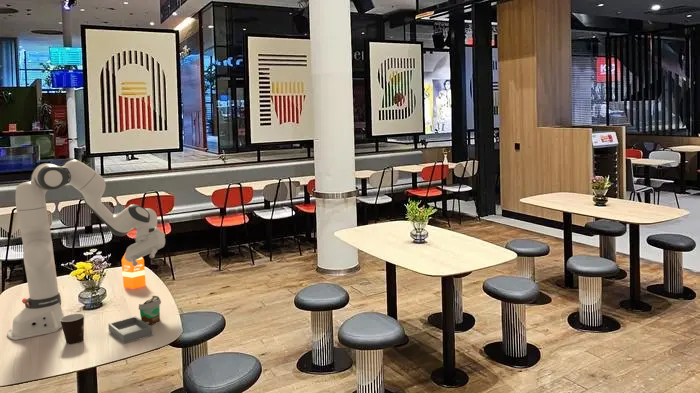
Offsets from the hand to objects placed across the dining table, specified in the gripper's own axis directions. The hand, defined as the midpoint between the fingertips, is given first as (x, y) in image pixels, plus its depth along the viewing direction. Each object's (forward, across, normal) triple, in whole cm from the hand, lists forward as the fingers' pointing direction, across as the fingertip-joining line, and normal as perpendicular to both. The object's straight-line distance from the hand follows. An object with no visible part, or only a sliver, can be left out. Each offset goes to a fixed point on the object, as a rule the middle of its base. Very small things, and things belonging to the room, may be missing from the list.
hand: (143, 261), depth 250 cm
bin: (+33, -6, +4) cm, 34 cm away
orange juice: (-20, -35, +33) cm, 53 cm away
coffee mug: (+34, -24, -7) cm, 42 cm away
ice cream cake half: (+24, -2, +13) cm, 28 cm away
